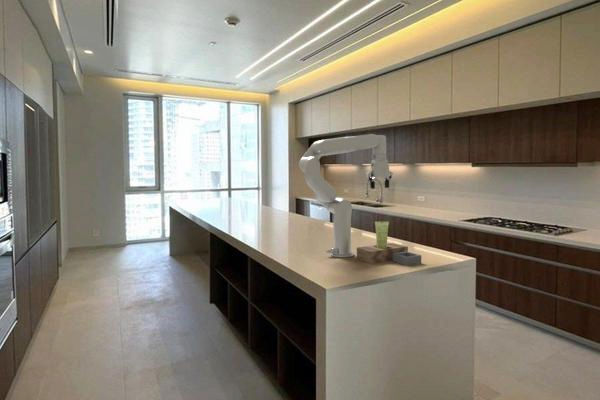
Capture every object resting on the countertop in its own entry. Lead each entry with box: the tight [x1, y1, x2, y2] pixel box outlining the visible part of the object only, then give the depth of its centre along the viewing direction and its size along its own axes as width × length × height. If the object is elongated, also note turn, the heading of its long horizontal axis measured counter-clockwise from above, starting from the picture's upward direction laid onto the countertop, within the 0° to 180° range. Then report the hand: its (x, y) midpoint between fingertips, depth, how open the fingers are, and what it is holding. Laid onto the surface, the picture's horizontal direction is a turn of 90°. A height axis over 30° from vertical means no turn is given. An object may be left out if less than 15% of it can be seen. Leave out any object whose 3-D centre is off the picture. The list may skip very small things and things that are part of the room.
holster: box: [392, 251, 422, 267], centre depth 188 cm, size 9×10×4 cm
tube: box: [374, 221, 390, 249], centre depth 198 cm, size 6×5×20 cm
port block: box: [356, 242, 409, 264], centre depth 198 cm, size 24×12×6 cm, turn 116°
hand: (379, 188), depth 212 cm, fingers open, 9 cm apart
